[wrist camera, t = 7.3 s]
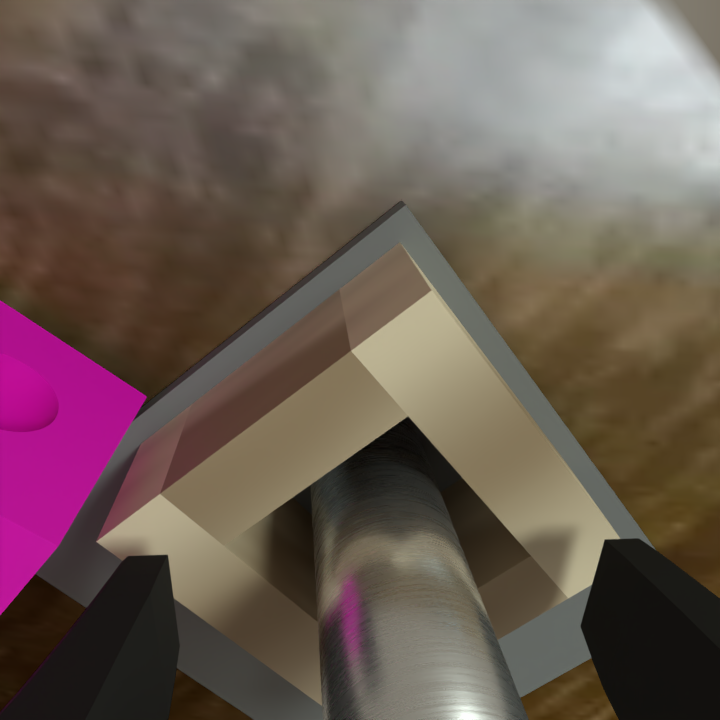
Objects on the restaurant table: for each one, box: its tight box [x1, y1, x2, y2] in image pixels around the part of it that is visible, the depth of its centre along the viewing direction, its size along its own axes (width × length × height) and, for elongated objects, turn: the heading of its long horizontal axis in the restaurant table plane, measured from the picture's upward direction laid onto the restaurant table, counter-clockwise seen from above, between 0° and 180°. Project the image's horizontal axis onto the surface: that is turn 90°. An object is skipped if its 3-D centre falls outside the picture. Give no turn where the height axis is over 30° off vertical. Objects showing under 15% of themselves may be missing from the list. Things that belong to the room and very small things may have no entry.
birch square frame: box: [96, 242, 620, 706], centre depth 12 cm, size 7×7×3 cm
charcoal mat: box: [35, 201, 655, 720], centre depth 15 cm, size 14×12×1 cm
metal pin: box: [310, 419, 528, 720], centre depth 9 cm, size 3×3×8 cm
